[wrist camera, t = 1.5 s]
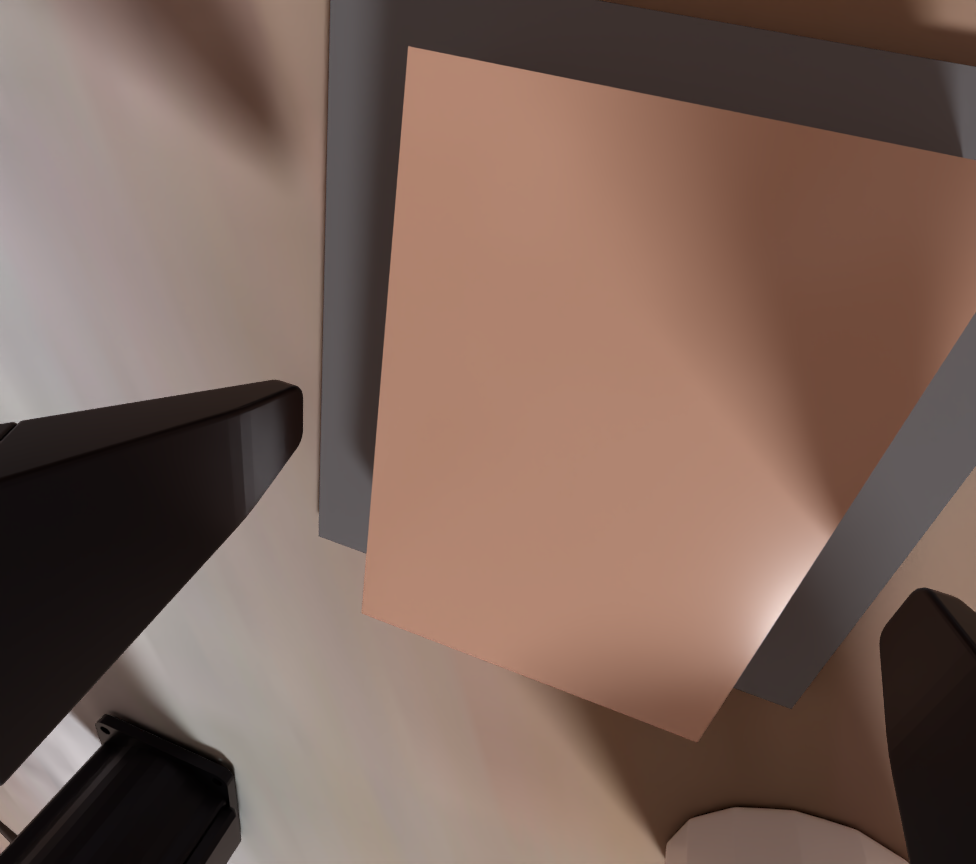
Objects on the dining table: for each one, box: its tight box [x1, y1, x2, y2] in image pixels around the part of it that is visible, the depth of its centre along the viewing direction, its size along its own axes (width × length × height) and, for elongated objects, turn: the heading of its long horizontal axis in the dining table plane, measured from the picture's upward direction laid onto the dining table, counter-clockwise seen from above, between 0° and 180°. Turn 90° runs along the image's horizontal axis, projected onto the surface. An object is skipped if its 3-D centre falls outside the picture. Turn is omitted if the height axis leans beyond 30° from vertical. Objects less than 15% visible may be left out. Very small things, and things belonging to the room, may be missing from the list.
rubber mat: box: [319, 0, 976, 709], centre depth 11 cm, size 12×12×1 cm
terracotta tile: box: [362, 46, 976, 742], centre depth 10 cm, size 7×10×2 cm
